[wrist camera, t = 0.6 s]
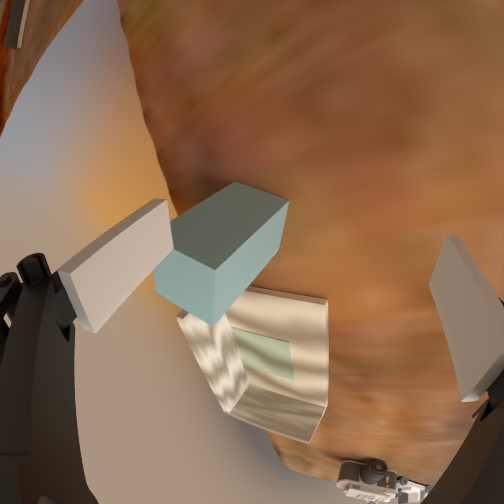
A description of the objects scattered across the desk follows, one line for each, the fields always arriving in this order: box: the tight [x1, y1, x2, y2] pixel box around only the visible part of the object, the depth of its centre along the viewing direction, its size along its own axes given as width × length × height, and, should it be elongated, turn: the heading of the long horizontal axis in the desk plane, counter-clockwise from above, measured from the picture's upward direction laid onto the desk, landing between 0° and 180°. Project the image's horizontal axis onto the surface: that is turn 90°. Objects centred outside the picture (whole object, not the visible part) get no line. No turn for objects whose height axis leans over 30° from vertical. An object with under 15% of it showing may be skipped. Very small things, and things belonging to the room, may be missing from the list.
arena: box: [176, 286, 329, 444], centre depth 37 cm, size 24×16×8 cm, turn 12°
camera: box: [336, 460, 397, 503], centre depth 43 cm, size 9×16×10 cm, turn 84°
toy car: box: [366, 476, 433, 504], centre depth 45 cm, size 18×10×12 cm
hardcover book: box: [5, 0, 30, 50], centre depth 28 cm, size 16×23×2 cm
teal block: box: [153, 182, 289, 327], centre depth 25 cm, size 6×6×12 cm
